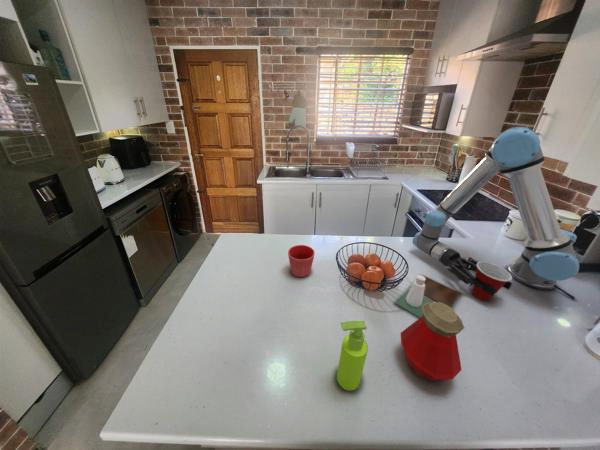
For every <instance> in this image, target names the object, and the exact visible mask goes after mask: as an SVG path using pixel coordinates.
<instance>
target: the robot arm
mask: <svg viewBox="0 0 600 450" xmlns="http://www.w3.org/2000/svg"><path fill="white" fill-rule="evenodd" d="M545 161H546V160H545V156H544V153H543V150H542V148H541V140H540V137H539V135H538V134H537V133H536V132H535V131H534V130H533V129H532V128H530V127H528V126H523V125H516V126H511V127H509V128H507V129H505V130H504V131H501V133H500V134H499V135H497V137H496V138H495V140H494V141H493V143H492V145H491V146H490V147H489V149H487V151H486V152H485V153H484V158H483V159H482V160H481V161H480V162H479V163H478V164H477V165H475V167H474V168H473V169H472V170H471V171H470V172H469V173H468V174H467V175H466V176H465V177H464V178H463V179H462V181H460V182H459V183H458V184H457V186H456V187H454V189H453V190H451V191H450V193H449V194H447V196H446V197H445V198H444V199H443V200H442V201H441V202H440V203H439V204H438V205H437V206H436V207H435V208H433V210H429V211H427V213H426V215H425V217H424V222H423V225H422V229H421V231H419V232H417V233H416V234H415V235H414V237H412V244H413V246H414V247H416V248H417V249H418V250H419V251H421V252H423V253H425V254H426V255H428V256H429V257H431V258H433V259H434V260H435V261H437V262H439V263H440V264H441V265H443V266H445V267H446V270H447V271H449V272H450V273H452V274H453V275H454V276H455V277H457V278H458V279H459V280H460V281H462V282H463V283H464V284H465V285H469V286H470V287H473V286H474V285H476V286H477V287H479V288H480V289H482V290H484V291H485V292H487V293H489V294H490V295H492V296H493V297H494V296H495V295H496V294H497V293H496V291H497V289H495V288H494V287H492V286H490V285H489V284H486V283H484V282H482V281H481V280H479V279H478V278H477V280H476V278H475V276H474V275H473V274H472V272H474V273H476V269H477V266H476V265H477V263H478V262H479V261H478V260H475V259H474V258H473V257H468V258H467V259H466V258H464V257H462V256H461V254H460V252H458V251H457V250H455V249H454V248H451V247H450V246H448V245H446V244H444V243H443V242H441V241H439V239H440V237H441V234H442V230H443V228H444V226H445V225H446V223H447V221H448V220H449V219H451V218H452V217H453V216H454V215H455V214H456V213H457V212H458V211H459V210H460V209H461V208H462V207H463V206H464V205H466V203H467V202H469V201H470V200H471V199H472V198H473V197H474V196H475V195H476V194H477V193H478V192H479V191H481V189H482V188H483V187H485V186H486V185H487V184H488V182H490V181H492V179H493V178H494V177H495V176H496V175H498V173H499V174H500V175H501V176H504V177H506V178H507V181H508V184H509V187H510V190H511V192H512V195H513V198H514V201H515V204H516V207H517V210H518V213H519V216H520V218H521V222H522V225H523V228H524V230H525V231H524V232H525V234H526V236H527V238H526V239H525V240H524V242H523V245H524V249H523V250H522V252H521V255H520V256H519V257H518V258H516V259H514V260H513V261H511V263H510V264H509V266H508V267H507V269H506V271H507V272H509V273H510V274H511V276H512V279H514V280H516V281H517V282H519V283H521V284H523V285H525V286H527V287H531V288H534V289H538V290H544V291H545V290H546V291H548V290H552V289H554V288H555V289H557V290H558V291H560V292H562V293H563V294H565V295H567V296H568V297H569V298H571V299H573V300H574V299H575V298H576V297H575V296H574V295H572V294H571V293H569V292H567V291H566V290H564V289H562V288H561V287H559V286H557V285H556V284H557V281H558V282H559V281H566V280H569V279H572V278H573V277H575V276H576V275H577V274H578V272H579V271H580V261H579V260H578V258H577V256H576V253H575V249H574V247H573V246H574V244H575V243H576V242H577V241H576V240H577V239H578V236H577V235H576V234H575V233H573V232H571V231H568V230H566V229H563V228H561V227H560V224H559V221H558V218H557V215H556V212H555V208H554V206H553V202H552V200H551V196H550V193H549V190H548V188H547V184H546V181H545V177H544V175H543V172H542V169H541V167H542V166H543V164H544V163H545ZM471 271H472V272H471ZM512 285H513V282H511V281H508V282H507V283H505V284H504V285H503V286H502V287H501V288H504V289H505V290H510V289H511V286H512ZM495 293H496V294H495Z"/></svg>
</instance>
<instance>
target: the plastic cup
mask: <svg viewBox="0 0 600 450" xmlns="http://www.w3.org/2000/svg"><path fill="white" fill-rule="evenodd" d="M476 266H477V269H476V272H475V276H474V277H475V278H476V280H477V278H478V279H479V280H481V281H482V282H484V283H486V284H489V285H490V286H492V287H494V288H495V289H497V291H496V293H495V295H496V294H497V293H498V292H499V291H500V290H501V289H502V288H503V287H502V286H503V285H504V284H505V283H507V282H508V281H509V282H511V281H512V279H513V277H512V276H511V274H510V273H509V272H508V271H507V269H506V268H503V267H501V266H500V265H497V264H495V263H492V262H488V261H478V263H477V265H476ZM472 294H473V296H474V297H476V298H477V299H479V300H482V301H490V300H491V299H492V298H493V297H494V296H492V295H490V294H489V293H487V292H485V291H484V290H482V289H480V288H479V287H477V286H476V285H473V286H472Z"/></svg>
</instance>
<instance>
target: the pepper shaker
mask: <svg viewBox="0 0 600 450" xmlns="http://www.w3.org/2000/svg"><path fill="white" fill-rule="evenodd" d="M424 276H425V275H417V276H416V279H415V280H414V281H412V284H411V286H410V290H409V289H408V290H409V293H408V295H407V297H406V301H407V303H408V304H410V305H411V306H414V307H419V306H420V305H422V301H423V297H424V296H425V295H424V290H425V284H424V282H425V280H426V278H425V277H426V276H425V277H424Z"/></svg>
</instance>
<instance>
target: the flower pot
mask: <svg viewBox="0 0 600 450" xmlns="http://www.w3.org/2000/svg"><path fill="white" fill-rule="evenodd" d="M315 254H316V253H315V250H314V248H312V247H311V246H309V245H306V244H298V245H294V246H291V247H290V248H289V249H288V251H287V255H288V256H287V257H288V259H289V260H288V261H289V266H290V271H291V274H292V275H293V276H294V277H298V278H305V277H307V276H308V275H309V274H310V273H311V271H312V270H311V269H312V267H313V262H314V257H315Z"/></svg>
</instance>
